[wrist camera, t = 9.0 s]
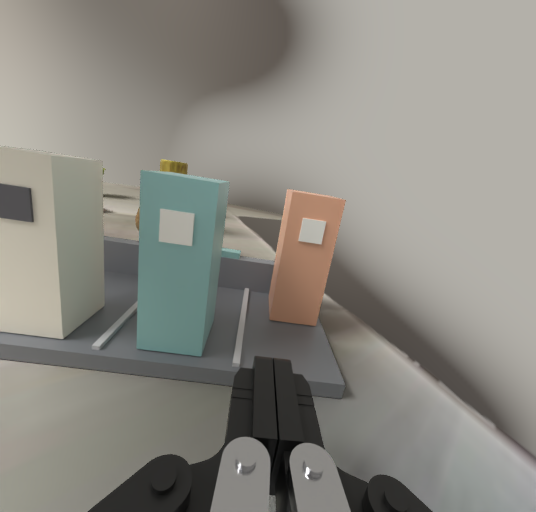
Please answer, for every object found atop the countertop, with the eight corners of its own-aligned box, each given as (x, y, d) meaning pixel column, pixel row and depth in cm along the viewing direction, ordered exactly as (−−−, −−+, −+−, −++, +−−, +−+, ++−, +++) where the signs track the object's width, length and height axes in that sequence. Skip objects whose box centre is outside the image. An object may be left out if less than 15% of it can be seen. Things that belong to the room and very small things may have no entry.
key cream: (61, 340, 18) (48, 155, 15) (-9, 332, 18) (-37, 141, 15) (104, 305, 23) (102, 160, 20) (50, 298, 23) (39, 150, 19)
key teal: (200, 358, 19) (218, 183, 15) (135, 350, 18) (139, 170, 15) (213, 320, 24) (229, 181, 20) (162, 313, 23) (170, 172, 20)
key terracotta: (316, 327, 25) (346, 200, 22) (269, 320, 25) (292, 191, 22) (307, 302, 30) (331, 196, 27) (268, 297, 30) (287, 188, 27)
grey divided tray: (341, 398, 19) (361, 331, 17) (-31, 355, 17) (-45, 277, 16) (307, 303, 33) (316, 261, 32) (102, 274, 32) (101, 229, 30)
